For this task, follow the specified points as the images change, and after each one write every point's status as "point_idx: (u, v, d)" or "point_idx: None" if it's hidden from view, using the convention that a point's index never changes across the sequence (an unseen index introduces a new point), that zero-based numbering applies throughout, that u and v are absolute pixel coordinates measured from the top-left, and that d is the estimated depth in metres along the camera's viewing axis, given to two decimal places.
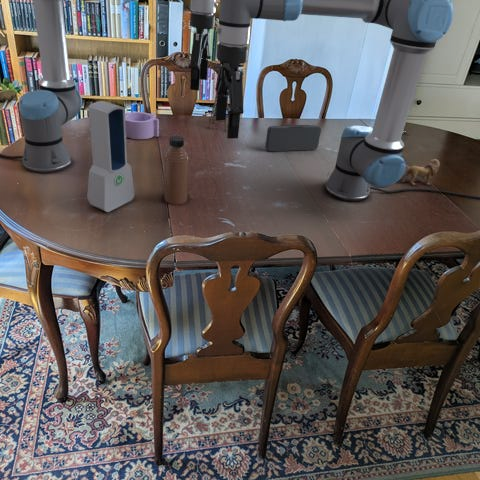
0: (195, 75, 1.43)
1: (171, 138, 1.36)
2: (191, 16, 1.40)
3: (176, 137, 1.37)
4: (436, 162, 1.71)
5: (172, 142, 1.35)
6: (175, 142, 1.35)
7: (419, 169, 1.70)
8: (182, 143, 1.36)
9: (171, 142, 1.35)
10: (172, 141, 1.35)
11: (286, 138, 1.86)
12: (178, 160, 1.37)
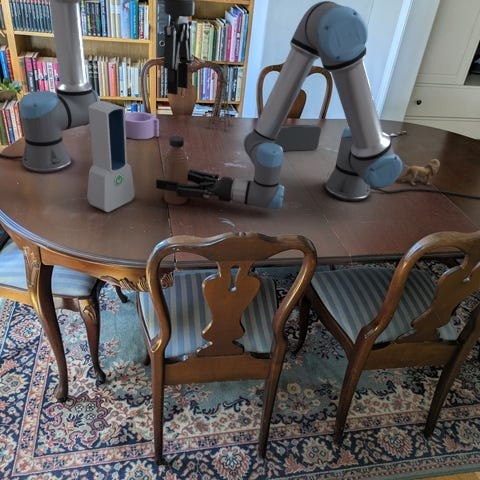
0: None
1: (171, 138, 1.36)
2: None
3: (176, 137, 1.37)
4: (436, 162, 1.71)
5: (172, 142, 1.35)
6: (175, 142, 1.35)
7: (419, 169, 1.70)
8: (182, 143, 1.36)
9: (171, 142, 1.35)
10: (172, 141, 1.35)
11: (286, 138, 1.86)
12: (178, 160, 1.37)
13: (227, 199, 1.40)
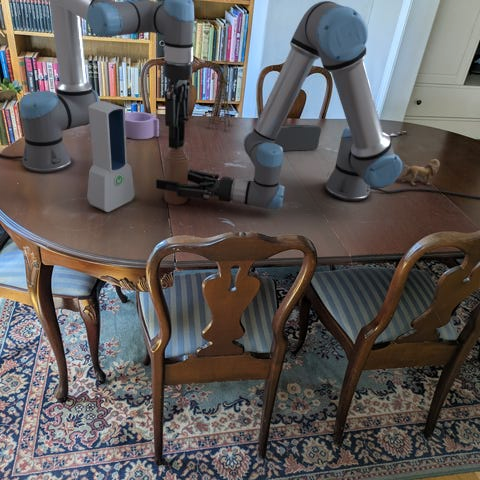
0: None
1: None
2: None
3: None
4: (436, 162, 1.71)
5: None
6: None
7: (419, 169, 1.70)
8: (182, 143, 1.36)
9: None
10: None
11: (286, 138, 1.86)
12: (178, 160, 1.37)
13: (227, 199, 1.40)
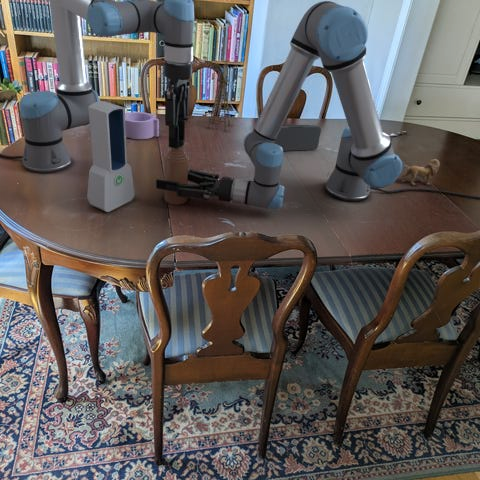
0: None
1: None
2: None
3: None
4: (436, 162, 1.71)
5: (182, 141, 1.36)
6: (183, 140, 1.36)
7: (419, 169, 1.70)
8: None
9: (181, 143, 1.36)
10: (182, 141, 1.36)
11: (286, 138, 1.86)
12: (178, 160, 1.37)
13: (227, 199, 1.40)
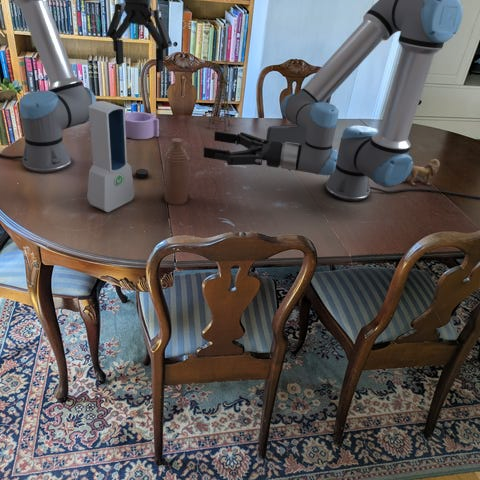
0: None
1: (140, 173, 1.56)
2: None
3: (139, 170, 1.57)
4: (436, 162, 1.71)
5: (144, 175, 1.56)
6: (146, 174, 1.57)
7: (419, 169, 1.70)
8: None
9: (143, 176, 1.56)
10: (144, 174, 1.56)
11: (286, 138, 1.86)
12: (178, 160, 1.37)
13: (276, 164, 1.31)
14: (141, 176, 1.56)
